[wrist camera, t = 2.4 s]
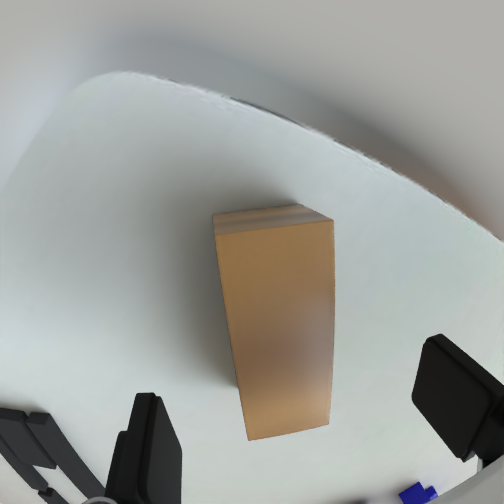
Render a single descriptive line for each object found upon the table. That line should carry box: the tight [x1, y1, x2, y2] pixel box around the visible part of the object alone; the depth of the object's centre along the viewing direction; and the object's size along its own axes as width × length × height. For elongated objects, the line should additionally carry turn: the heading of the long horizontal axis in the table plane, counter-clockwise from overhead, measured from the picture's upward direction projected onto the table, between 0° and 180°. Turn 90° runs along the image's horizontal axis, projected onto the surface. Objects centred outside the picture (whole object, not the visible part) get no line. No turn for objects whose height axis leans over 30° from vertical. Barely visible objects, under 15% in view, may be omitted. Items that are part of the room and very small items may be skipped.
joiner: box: [213, 204, 335, 441], centre depth 13 cm, size 10×4×4 cm, turn 5°
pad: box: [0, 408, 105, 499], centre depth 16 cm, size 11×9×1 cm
